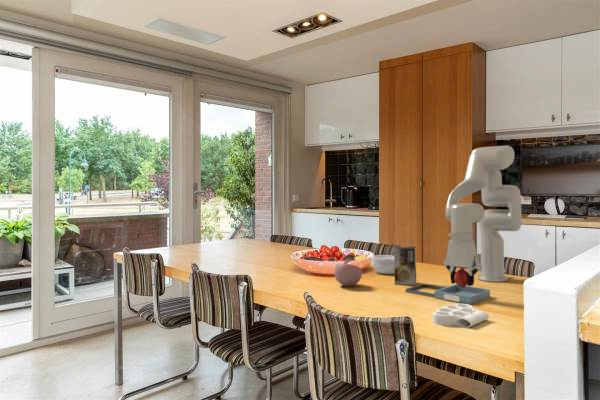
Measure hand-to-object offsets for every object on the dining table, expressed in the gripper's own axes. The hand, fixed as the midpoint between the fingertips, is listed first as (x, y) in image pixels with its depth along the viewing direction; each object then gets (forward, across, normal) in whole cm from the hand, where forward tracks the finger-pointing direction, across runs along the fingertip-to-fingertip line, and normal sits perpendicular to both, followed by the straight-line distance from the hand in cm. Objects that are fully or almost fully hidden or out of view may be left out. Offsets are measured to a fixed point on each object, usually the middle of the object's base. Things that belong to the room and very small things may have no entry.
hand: (462, 283), depth 167 cm
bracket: (+5, -14, 0) cm, 15 cm away
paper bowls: (+5, -51, +22) cm, 56 cm away
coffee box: (+6, -30, +7) cm, 31 cm away
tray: (+5, 0, 0) cm, 5 cm away
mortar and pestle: (+6, -45, -14) cm, 47 cm away
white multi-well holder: (+6, +12, -27) cm, 30 cm away
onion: (+2, 0, 0) cm, 2 cm away
